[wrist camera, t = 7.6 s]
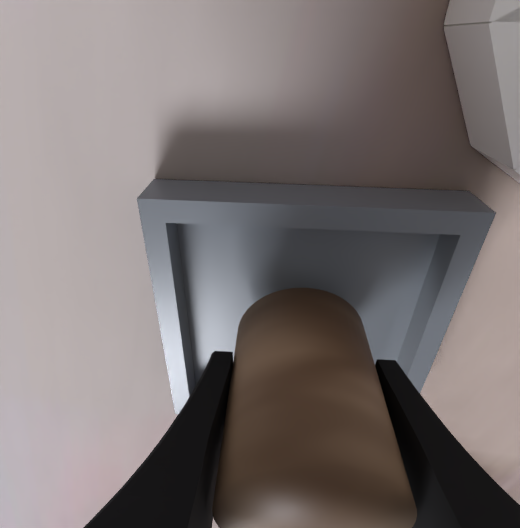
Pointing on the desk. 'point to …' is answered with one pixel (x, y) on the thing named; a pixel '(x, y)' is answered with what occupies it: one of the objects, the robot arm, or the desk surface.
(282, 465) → the cylinder
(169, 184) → the tray
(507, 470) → the desk surface
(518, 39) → the bowl
